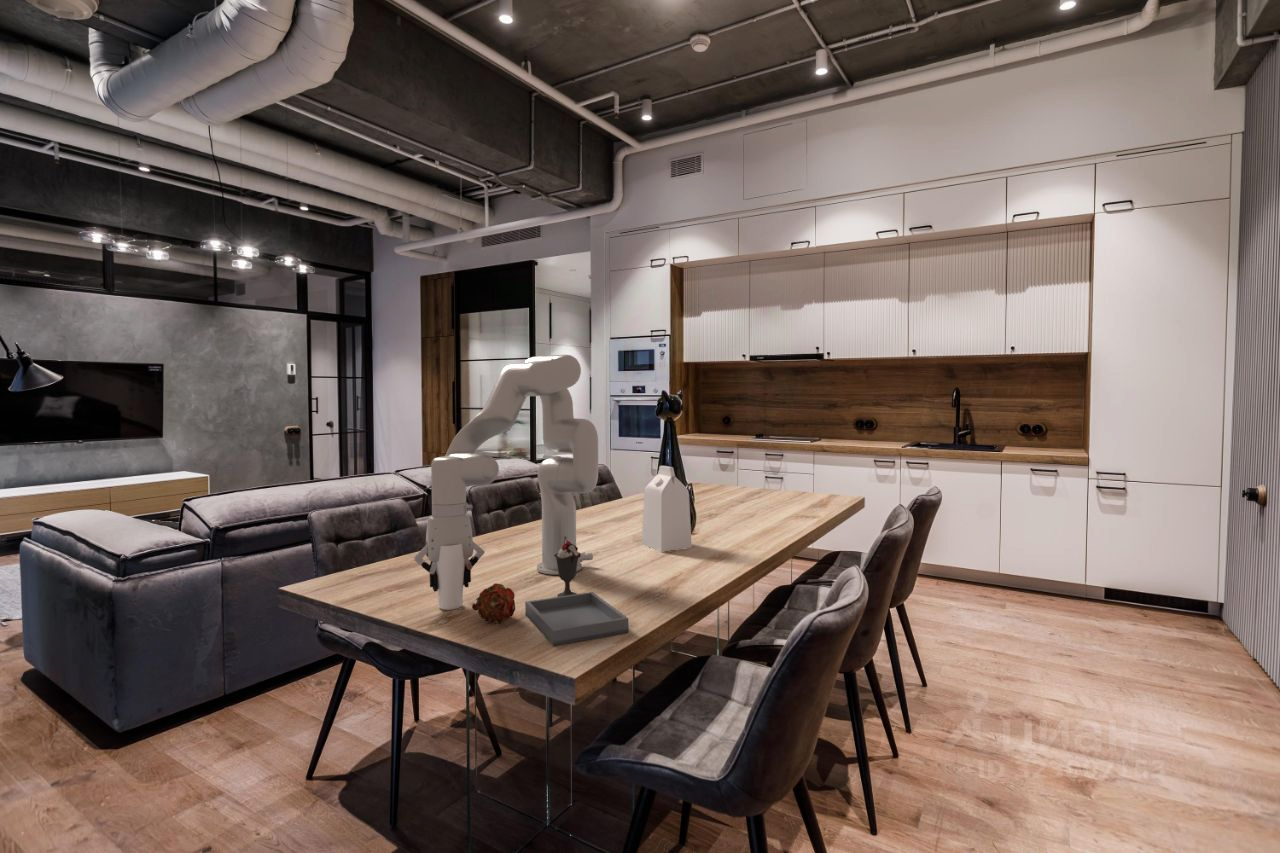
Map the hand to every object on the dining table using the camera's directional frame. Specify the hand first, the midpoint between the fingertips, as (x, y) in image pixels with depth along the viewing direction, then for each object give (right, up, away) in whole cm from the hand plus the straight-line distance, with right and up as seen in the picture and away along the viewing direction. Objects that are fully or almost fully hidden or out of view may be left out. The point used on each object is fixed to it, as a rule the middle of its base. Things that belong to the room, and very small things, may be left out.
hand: (450, 587), depth 147 cm
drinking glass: (0, -5, 0) cm, 5 cm away
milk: (+52, -2, +60) cm, 79 cm away
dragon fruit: (+12, -5, -8) cm, 16 cm away
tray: (+30, -5, -11) cm, 32 cm away
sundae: (+26, -4, +8) cm, 28 cm away
